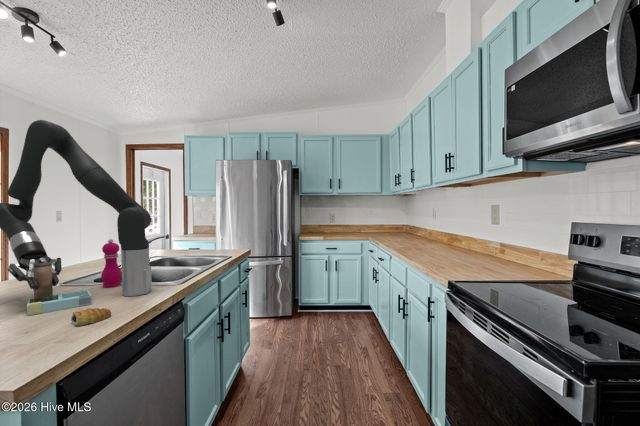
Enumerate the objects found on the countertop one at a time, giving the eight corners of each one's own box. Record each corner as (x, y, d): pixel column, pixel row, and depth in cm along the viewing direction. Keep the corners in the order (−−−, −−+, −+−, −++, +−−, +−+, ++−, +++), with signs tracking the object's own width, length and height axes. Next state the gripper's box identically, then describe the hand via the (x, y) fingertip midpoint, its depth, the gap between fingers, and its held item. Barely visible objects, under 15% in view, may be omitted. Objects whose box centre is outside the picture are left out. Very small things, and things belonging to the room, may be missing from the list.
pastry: (106, 313, 96) (105, 301, 95) (115, 318, 92) (114, 305, 92) (68, 323, 88) (68, 310, 88) (77, 328, 84) (76, 315, 84)
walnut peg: (56, 299, 103) (55, 261, 103) (47, 303, 99) (46, 264, 99) (40, 300, 102) (38, 262, 102) (30, 304, 98) (29, 265, 97)
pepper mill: (99, 289, 123) (98, 240, 123) (103, 285, 130) (101, 238, 129) (121, 286, 127) (119, 239, 126) (123, 282, 133) (121, 237, 133)
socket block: (88, 297, 112) (88, 288, 112) (91, 304, 104) (91, 294, 104) (28, 308, 101) (28, 298, 101) (26, 316, 93) (26, 305, 93)
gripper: (2, 242, 97) (21, 284, 92) (56, 238, 110) (75, 274, 105) (-5, 258, 99) (13, 299, 94) (49, 251, 112) (68, 287, 107)
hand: (46, 286), depth 100 cm, fingers closed on walnut peg, 4 cm apart
